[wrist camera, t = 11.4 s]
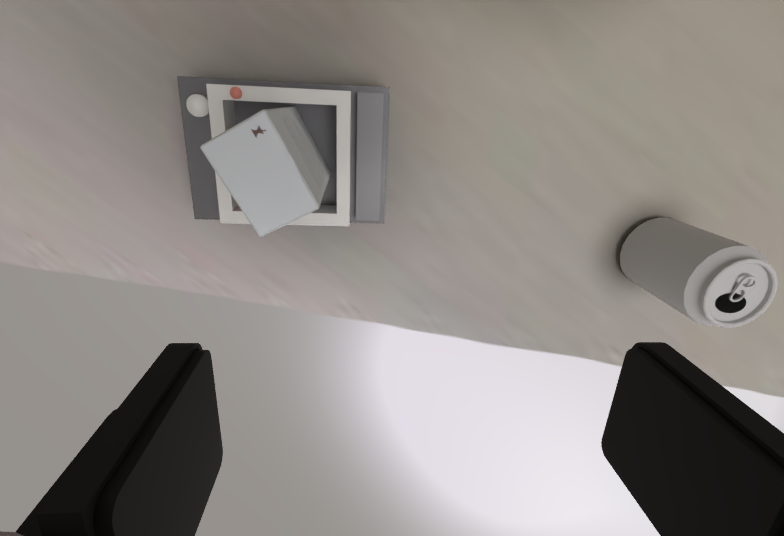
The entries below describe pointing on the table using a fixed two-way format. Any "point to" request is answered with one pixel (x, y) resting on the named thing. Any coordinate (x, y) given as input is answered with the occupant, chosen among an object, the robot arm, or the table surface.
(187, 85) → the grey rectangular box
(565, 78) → the table surface
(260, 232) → the skincare box
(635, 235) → the can
